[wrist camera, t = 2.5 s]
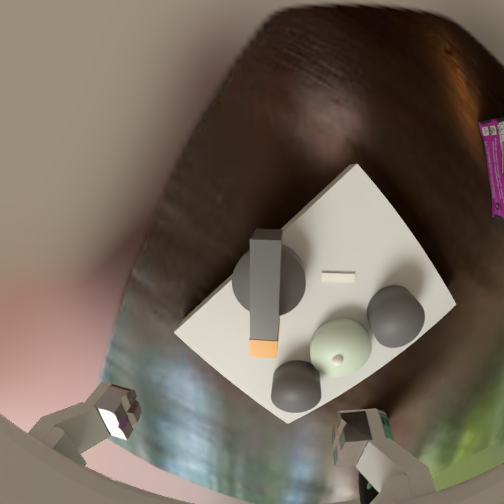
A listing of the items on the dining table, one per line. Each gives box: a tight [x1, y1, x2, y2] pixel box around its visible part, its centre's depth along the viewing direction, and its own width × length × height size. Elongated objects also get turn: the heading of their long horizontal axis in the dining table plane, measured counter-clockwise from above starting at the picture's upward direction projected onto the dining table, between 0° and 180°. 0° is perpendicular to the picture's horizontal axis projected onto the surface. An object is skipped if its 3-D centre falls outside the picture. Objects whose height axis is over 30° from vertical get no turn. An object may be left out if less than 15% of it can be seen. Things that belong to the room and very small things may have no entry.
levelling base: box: [174, 164, 456, 424], centre depth 26 cm, size 24×18×6 cm
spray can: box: [357, 410, 394, 504], centre depth 23 cm, size 6×6×20 cm
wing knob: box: [232, 229, 306, 358], centre depth 22 cm, size 9×6×6 cm, turn 0°
